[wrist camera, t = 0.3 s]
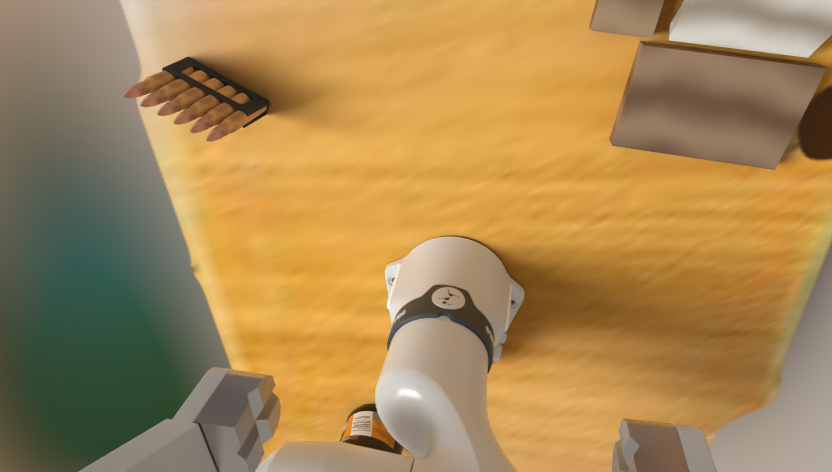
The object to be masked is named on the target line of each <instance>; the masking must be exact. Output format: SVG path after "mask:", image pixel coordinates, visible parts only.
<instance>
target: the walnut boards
mask: <svg viewBox="0 0 832 472" xmlns="http://www.w3.org/2000/svg"><path fill="white" fill-rule="evenodd" d="M663 3H664V0H596V4H595V8H594V11H593V15H592V19H591V23H590V29H591V30H592V31H598V32H606V33H614V34H622V35H630V36H638V37H646V38H652V37H653V34H654V31H655V28H656V25H657V21H658V18H659V15H660V12H661V9H662V6H663ZM826 70H827V68H825V67H823V66H820V65H818V64H815V63H807V62H799V61H791V60H784V59H776V58H768V57H760V56H752V55H744V54H736V53H728V52H720V51H712V50H704V49H696V48H688V47H680V46H672V45H664V44H656V43H649V42H641V41H640V43H639V46H638V49H637V53H636V56H635V59H634V62H633V65H632V69H631V72H630V75H629V78H628V82H627V85H626V88H625V91H624V94H623V98H622V101H621V104H620V107H619V110H618V114H617V117H616V120H615V123H614V126H613V130H612V133H611V136H610V141H611V144H612V146H618V147H625V148H631V149H638V150H645V151H651V152H658V153H665V154H671V155H678V156H685V157H692V158H698V159H705V160H712V161H718V162H725V163H732V164H738V165H745V166H752V167H758V168H765V169H772V170H775V169H776V167H777V165H778V163H779V161H780V159H781V157H782V155H783V153H784V151H785V149H786V147H787V145H788V143H789V142H790V140H791V138H792V136H793V134H794V132H795V130H796V128H797V126H798V124H799V122H800V120H801V118H802V116H803V114H804V113H805V111H806V109H807V107H808V105H809V103H810V101H811V99H812V97H813V95H814V93H815V91H816V89H817V87H818V85H819V84H820V82H821V80H822V78H823V76H824V74H825V72H826Z"/></svg>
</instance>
